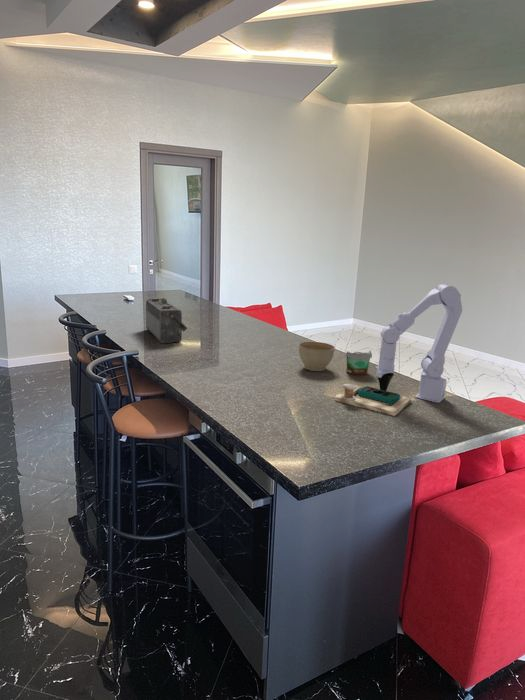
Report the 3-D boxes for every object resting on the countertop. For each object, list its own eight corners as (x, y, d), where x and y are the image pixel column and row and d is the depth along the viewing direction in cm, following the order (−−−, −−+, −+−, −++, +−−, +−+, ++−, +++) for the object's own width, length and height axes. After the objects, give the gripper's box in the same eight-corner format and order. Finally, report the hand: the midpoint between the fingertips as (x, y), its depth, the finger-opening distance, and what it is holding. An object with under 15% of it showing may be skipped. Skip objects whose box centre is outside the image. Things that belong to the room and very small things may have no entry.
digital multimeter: (364, 391, 193) (365, 384, 192) (400, 400, 184) (401, 393, 183) (356, 396, 187) (357, 389, 186) (392, 405, 179) (393, 398, 178)
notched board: (410, 402, 182) (412, 386, 180) (393, 416, 167) (396, 399, 165) (354, 388, 194) (355, 373, 193) (334, 400, 179) (335, 384, 178)
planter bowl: (331, 375, 210) (333, 351, 207) (295, 371, 213) (296, 348, 210) (334, 365, 225) (335, 343, 223) (299, 362, 228) (301, 340, 226)
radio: (145, 329, 281) (145, 295, 276) (169, 328, 287) (169, 295, 282) (160, 344, 248) (160, 306, 243) (187, 343, 254) (188, 305, 249)
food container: (349, 377, 209) (351, 354, 207) (343, 372, 215) (345, 351, 213) (375, 376, 213) (377, 354, 210) (368, 371, 218) (370, 350, 216)
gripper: (384, 352, 193) (380, 384, 197) (370, 359, 182) (366, 393, 185) (401, 355, 190) (397, 388, 193) (388, 362, 178) (384, 397, 181)
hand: (383, 390), depth 189 cm, fingers closed
